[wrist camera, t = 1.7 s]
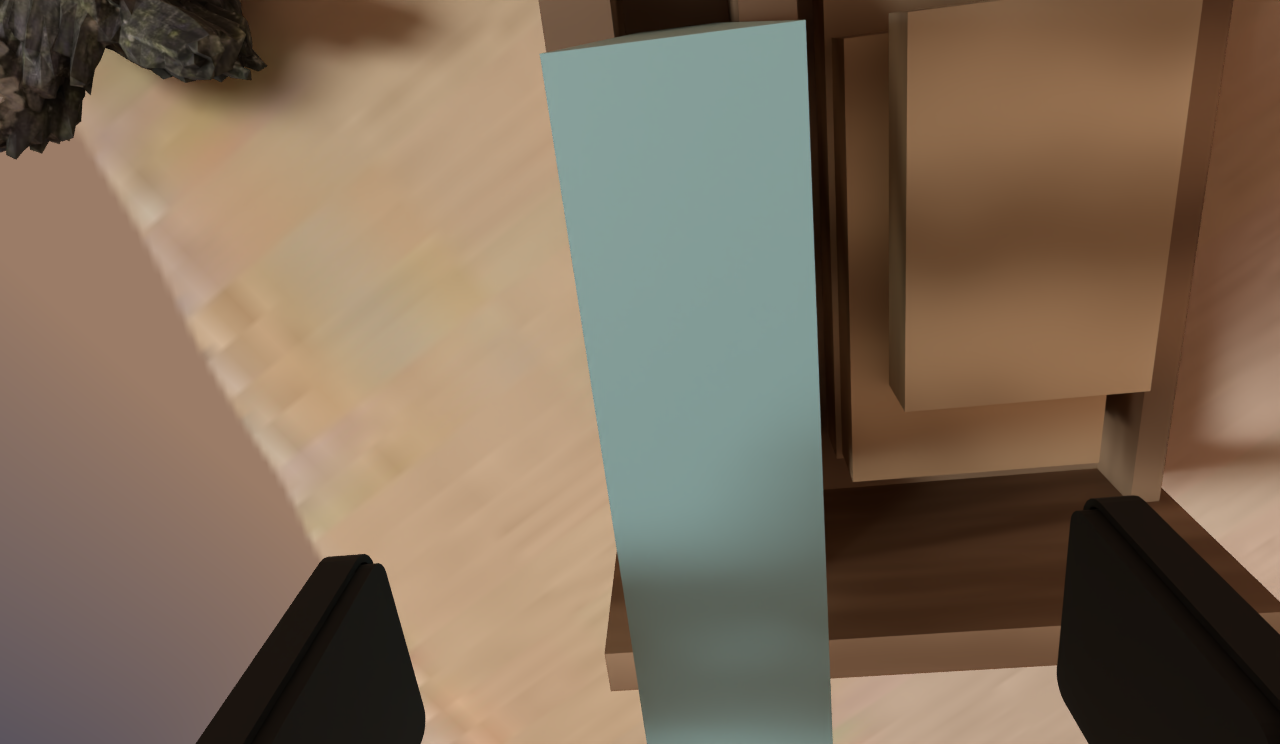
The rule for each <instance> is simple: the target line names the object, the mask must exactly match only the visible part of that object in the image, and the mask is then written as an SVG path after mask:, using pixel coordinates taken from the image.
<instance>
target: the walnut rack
mask: <svg viewBox="0 0 1280 744" xmlns="http://www.w3.org/2000/svg"><path fill="white" fill-rule="evenodd" d="M539 6H540V13H541V19H542V26H543V33H544V39H545V46H546V52H551V51H555V50H560V49H565V48H569V47H574V46H579V45H583V44H588V43H592V42H597V41H602V40H606V39H611V38H616V37H620V36H625V35H629V34H634V33H639V32H647V31H655V30H662V29H670V28H678V27H686V26H693V25H701V24H709V23H718V22H751V21H784V20H806V43H807V70H808V97H809V124H810V150H811V177H812V204H813V231H814V258H815V284H816V311H817V338H818V365H819V392H820V418H821V445H822V472H823V499H824V526H825V552H826V579H827V606H828V633H829V660H830V678H846V677H863V676H880V675H897V674H914V673H931V672H949V671H966V670H983V669H1000V668H1017V667H1034V666H1052V665H1057V662H1058V651H1059V640H1060V629H1061V618H1062V607H1063V596H1064V585H1065V574H1066V563H1067V552H1068V541H1069V530H1070V520H1071V516H1072V514H1073V512H1075V511H1079V510H1083V508H1084V505H1085V503H1086V501H1087V500H1089V499H1090V498H1103V497H1116V496H1129V495H1135V496H1139V497H1140V498H1142V499H1143V500H1144V501H1145V502H1146V503H1147V504H1148V505H1149V506H1150V507H1152V508H1153V509H1154V510H1155V511H1156V512H1157V513H1158V514H1159V515H1160V516H1161V517H1162V518H1163V519H1164V520H1165V521H1166V522H1167V523H1168V524H1169V525H1170V526H1171V527H1172V528H1173V529H1174V530H1175V531H1176V532H1177V533H1178V534H1179V535H1180V536H1181V537H1182V538H1183V539H1184V540H1185V541H1186V542H1187V543H1188V544H1189V545H1190V546H1191V547H1192V548H1193V549H1194V550H1195V551H1196V552H1197V553H1198V554H1199V555H1200V556H1201V557H1202V558H1203V559H1204V560H1205V561H1206V562H1207V563H1208V564H1209V565H1210V566H1211V567H1212V568H1213V569H1214V570H1215V571H1216V572H1217V573H1218V574H1219V575H1220V576H1221V577H1222V578H1223V579H1224V580H1225V581H1226V582H1227V583H1228V584H1229V585H1230V586H1231V587H1232V588H1233V589H1234V590H1235V591H1236V592H1237V593H1238V594H1239V595H1240V596H1241V597H1242V598H1243V599H1244V600H1245V601H1246V602H1247V603H1248V604H1250V605H1251V606H1252V607H1253V608H1254V609H1255V610H1256V611H1257V612H1258V613H1259V614H1260V615H1261V616H1262V617H1263V618H1264V619H1265V620H1266V621H1267V622H1268V623H1269V624H1270V625H1271V626H1272V627H1273V628H1274V629H1275V630H1276V631H1277V632H1278V633H1279V634H1280V602H1279V601H1278V600H1277V599H1276V598H1275V597H1274V596H1273V595H1272V594H1271V593H1270V592H1269V591H1268V590H1267V589H1266V588H1265V587H1264V586H1263V585H1262V584H1261V583H1260V582H1259V581H1258V580H1257V579H1256V578H1255V577H1253V576H1252V575H1251V574H1250V573H1249V572H1248V571H1247V570H1246V569H1245V568H1244V567H1243V566H1242V565H1241V564H1240V563H1239V562H1238V561H1237V560H1236V559H1235V558H1234V557H1233V556H1232V555H1231V554H1230V553H1229V552H1228V551H1226V550H1225V549H1224V548H1223V547H1222V546H1221V545H1220V544H1219V543H1218V542H1217V541H1216V540H1215V539H1214V538H1213V537H1212V536H1211V535H1210V534H1209V533H1208V532H1207V531H1206V530H1205V529H1204V528H1203V527H1202V526H1201V525H1199V524H1198V523H1197V522H1196V521H1195V520H1194V519H1193V518H1192V517H1191V516H1190V515H1189V514H1188V513H1187V512H1186V511H1185V510H1184V509H1183V508H1182V507H1181V506H1180V505H1179V504H1178V503H1177V502H1176V501H1175V500H1174V499H1172V498H1171V497H1170V496H1169V495H1168V494H1167V493H1166V492H1165V491H1164V490H1163V489H1162V488H1161V486H1162V479H1163V472H1164V466H1165V459H1166V452H1167V445H1168V439H1169V432H1170V425H1171V418H1172V412H1173V405H1174V398H1175V391H1176V385H1177V378H1178V371H1179V364H1180V357H1181V351H1182V344H1183V337H1184V330H1185V324H1186V317H1187V310H1188V303H1189V297H1190V290H1191V283H1192V276H1193V270H1194V263H1195V256H1196V249H1197V243H1198V236H1199V229H1200V222H1201V215H1202V209H1203V202H1204V195H1205V188H1206V182H1207V175H1208V168H1209V161H1210V155H1211V148H1212V141H1213V134H1214V128H1215V121H1216V114H1217V107H1218V100H1219V94H1220V87H1221V80H1222V73H1223V67H1224V60H1225V53H1226V46H1227V40H1228V33H1229V26H1230V19H1231V13H1232V6H1233V0H1203V4H1202V12H1201V19H1200V26H1199V34H1198V41H1197V49H1196V56H1195V64H1194V71H1193V78H1192V86H1191V93H1190V101H1189V108H1188V115H1187V123H1186V130H1185V138H1184V145H1183V153H1182V160H1181V167H1180V175H1179V182H1178V190H1177V197H1176V205H1175V212H1174V219H1173V227H1172V234H1171V242H1170V249H1169V256H1168V264H1167V271H1166V279H1165V286H1164V294H1163V301H1162V308H1161V316H1160V323H1159V331H1158V338H1157V345H1156V353H1155V360H1154V368H1153V375H1152V383H1151V390H1150V391H1145V392H1134V393H1122V394H1110V395H1106V404H1105V413H1104V422H1103V431H1102V440H1101V449H1100V458H1099V463H1088V464H1075V465H1063V466H1050V467H1037V468H1025V469H1012V470H999V471H987V472H974V473H961V474H949V475H936V476H923V477H910V478H898V479H885V480H872V481H860V482H853V481H852V478H851V475H850V473H849V470H848V467H847V465H846V462H845V459H844V458H840V459H837V458H836V455H835V452H834V450H833V447H832V444H831V441H830V439H829V436H828V431H827V401H826V372H825V342H824V313H823V283H822V253H821V224H820V194H819V165H818V135H817V106H816V76H815V47H814V17H813V0H539ZM605 659H606V665H607V671H608V677H609V682H610V688H611V691H623V690H639V689H638V682H637V676H636V669H635V663H634V656H633V650H632V644H631V637H630V631H629V624H628V618H627V611H626V605H625V599H624V592H623V586H622V579H621V573H620V566H619V560H618V554H616V563H615V571H614V579H613V588H612V596H611V605H610V613H609V622H608V630H607V638H606V647H605Z"/></svg>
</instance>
